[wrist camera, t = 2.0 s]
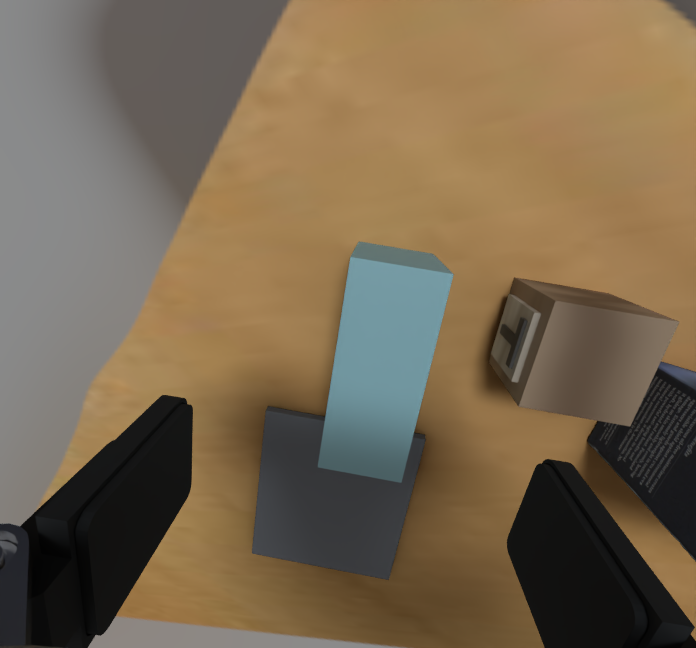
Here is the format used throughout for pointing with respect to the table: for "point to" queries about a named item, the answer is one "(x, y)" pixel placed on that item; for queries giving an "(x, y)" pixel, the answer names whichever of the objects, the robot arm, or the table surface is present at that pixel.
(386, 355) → the teal rectangular block
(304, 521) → the dark gray block
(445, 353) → the table surface
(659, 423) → the small box
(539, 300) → the wooden letter block
